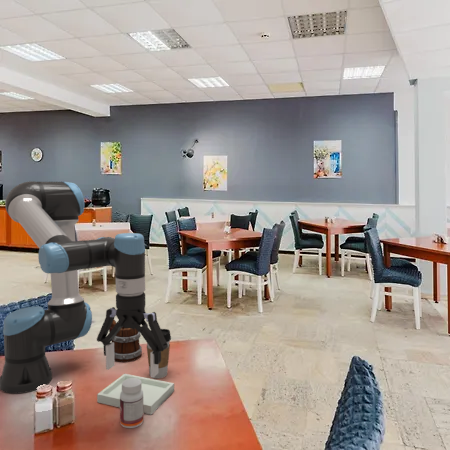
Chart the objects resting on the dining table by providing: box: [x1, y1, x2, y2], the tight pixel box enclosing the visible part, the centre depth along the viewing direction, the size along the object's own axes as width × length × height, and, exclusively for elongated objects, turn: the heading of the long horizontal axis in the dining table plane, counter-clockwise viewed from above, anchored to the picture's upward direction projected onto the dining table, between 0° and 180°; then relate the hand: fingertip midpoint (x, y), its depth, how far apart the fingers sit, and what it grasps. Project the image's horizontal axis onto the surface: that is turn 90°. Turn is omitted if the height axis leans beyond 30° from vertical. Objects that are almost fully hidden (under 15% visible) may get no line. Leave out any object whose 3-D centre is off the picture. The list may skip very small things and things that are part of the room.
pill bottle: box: [119, 378, 144, 429], centre depth 108 cm, size 6×6×11 cm
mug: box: [108, 319, 143, 363], centre depth 150 cm, size 12×14×15 cm
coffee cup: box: [146, 328, 172, 379], centre depth 135 cm, size 8×8×15 cm
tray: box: [96, 373, 175, 415], centre depth 121 cm, size 18×14×2 cm
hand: (132, 371), depth 107 cm, fingers open, 13 cm apart
